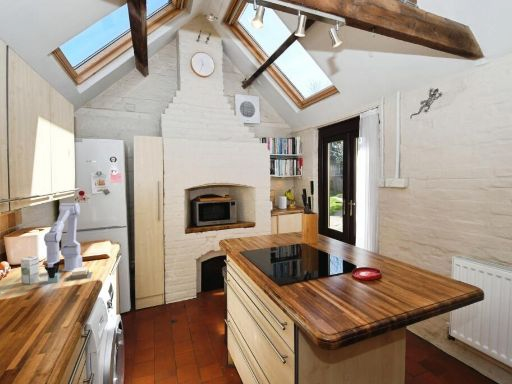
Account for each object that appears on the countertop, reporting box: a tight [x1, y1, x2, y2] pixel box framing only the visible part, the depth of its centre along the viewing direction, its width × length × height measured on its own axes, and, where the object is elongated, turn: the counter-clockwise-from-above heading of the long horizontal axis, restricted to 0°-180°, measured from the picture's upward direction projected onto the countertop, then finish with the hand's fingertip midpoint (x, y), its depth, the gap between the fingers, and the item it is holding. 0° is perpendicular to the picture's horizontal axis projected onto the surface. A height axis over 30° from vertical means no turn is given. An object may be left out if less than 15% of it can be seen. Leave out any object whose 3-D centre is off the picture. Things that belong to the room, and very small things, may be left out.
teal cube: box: [47, 272, 60, 284], centre depth 151 cm, size 4×4×4 cm
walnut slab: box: [70, 269, 90, 280], centre depth 158 cm, size 8×8×2 cm
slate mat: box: [66, 271, 94, 283], centre depth 159 cm, size 12×12×1 cm
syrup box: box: [20, 256, 40, 285], centre depth 149 cm, size 6×6×14 cm
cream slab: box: [71, 266, 89, 276], centre depth 158 cm, size 7×7×2 cm
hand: (53, 275), depth 150 cm, fingers open, 7 cm apart
